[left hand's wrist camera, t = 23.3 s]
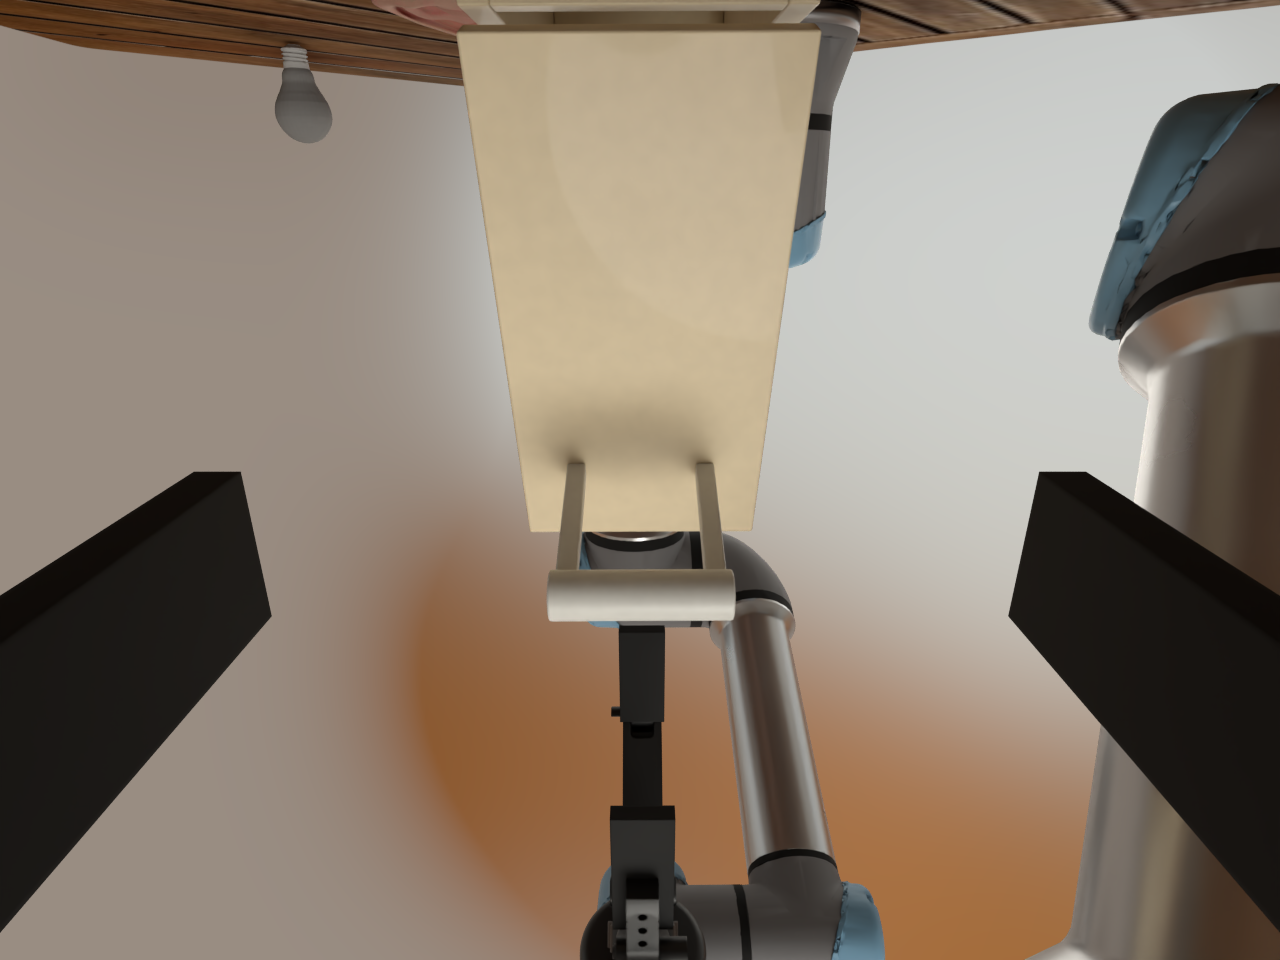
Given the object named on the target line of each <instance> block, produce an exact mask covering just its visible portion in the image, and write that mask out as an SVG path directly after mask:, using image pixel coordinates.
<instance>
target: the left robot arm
mask: <svg viewBox="0 0 1280 960" xmlns="http://www.w3.org/2000/svg"><path fill="white" fill-rule="evenodd" d="M1089 328H1090V329H1091V331H1092V332H1094V333H1096V334H1098V335H1103V336H1105V337H1106V338H1108V339H1110V340H1119V339H1120V345H1119V351H1118V362H1119V369H1120V372H1121V374H1122V376H1123V378H1124V379H1125V381H1126V382H1127V383H1128V384H1129V385H1130V386H1131V387H1132V388H1133V389H1134V390H1135V391H1136V392H1138V393H1139V394H1140V395H1142V396H1143V397H1144V398H1146V399H1147V400H1148V401H1149V402H1148V409H1147V416H1146V423H1145V429H1144V436H1143V443H1142V450H1141V457H1140V463H1139V470H1138V477H1137V484H1136V490H1135V497H1134V502H1132V501H1131V500H1129V499H1128V498H1126V497H1125V496H1123V495H1121V494H1120V493H1118V492H1117V491H1115V490H1114V489H1112V488H1111V487H1109V486H1107V485H1106V484H1104V483H1103V482H1101V481H1100V480H1098V479H1097V478H1095V477H1093V476H1092V475H1090V474H1089V473H1087V472H1039V476H1038V480H1037V485H1036V490H1035V494H1034V499H1033V504H1032V509H1031V513H1030V518H1029V522H1028V527H1027V531H1026V536H1025V541H1024V545H1023V550H1022V555H1021V559H1020V564H1019V569H1018V574H1017V578H1016V583H1015V587H1014V592H1013V597H1012V601H1011V606H1010V611H1009V615H1008V616H1009V618H1010V619H1011V620H1012V621H1013V622H1014V623H1015V625H1016V626H1017V627H1018V628H1019V629H1020V630H1021V632H1022V633H1023V634H1024V635H1025V636H1026V637H1027V639H1028V640H1029V641H1030V642H1031V643H1032V644H1033V646H1034V647H1035V648H1036V649H1037V650H1038V651H1039V652H1040V654H1041V655H1042V656H1043V657H1044V658H1045V659H1046V661H1047V662H1048V663H1049V664H1050V665H1051V666H1052V668H1053V669H1054V670H1055V671H1056V672H1057V673H1058V675H1059V676H1060V677H1061V678H1062V679H1063V680H1064V682H1065V683H1066V684H1067V685H1068V686H1069V687H1070V689H1071V690H1072V691H1073V692H1074V693H1075V694H1076V696H1077V697H1078V698H1079V699H1080V700H1081V701H1082V703H1083V704H1084V705H1085V706H1086V707H1087V708H1088V710H1089V711H1090V712H1091V713H1092V714H1093V715H1094V717H1095V718H1096V719H1097V720H1098V721H1099V722H1100V724H1101V728H1100V735H1099V741H1098V748H1097V755H1096V762H1095V768H1094V775H1093V782H1092V789H1091V796H1090V803H1089V809H1088V816H1087V823H1086V829H1085V836H1084V843H1083V850H1082V857H1081V864H1080V870H1079V877H1078V884H1077V891H1076V897H1075V904H1074V911H1073V918H1072V924H1071V928H1070V930H1069V932H1068V934H1067V936H1066V937H1065V938H1064V939H1063V940H1062V941H1061V942H1060V943H1058V944H1056V945H1054V946H1052V947H1050V948H1048V949H1046V950H1044V951H1042V952H1040V953H1038V954H1036V955H1033V956H1031V957H1029V958H1027V959H1025V960H1280V84H1277V83H1276V84H1267V85H1264V86H1261V87H1260V88H1258V89H1249V90H1239V91H1230V92H1220V93H1211V94H1202V95H1197V96H1193V97H1190V98H1188V99H1186V100H1184V101H1182V102H1180V103H1178V104H1176V105H1175V106H1173V107H1172V108H1170V109H1169V110H1168V111H1167V112H1166V113H1165V114H1164V115H1163V116H1162V118H1161V119H1160V120H1159V122H1158V123H1157V125H1156V126H1155V128H1154V130H1153V132H1152V135H1151V137H1150V139H1149V142H1148V144H1147V147H1146V149H1145V152H1144V154H1143V157H1142V160H1141V162H1140V165H1139V168H1138V170H1137V173H1136V176H1135V179H1134V182H1133V185H1132V187H1131V190H1130V193H1129V196H1128V199H1127V202H1126V205H1125V208H1124V211H1123V214H1122V217H1121V221H1120V226H1119V229H1118V231H1117V233H1116V236H1115V239H1114V242H1113V245H1112V248H1111V250H1110V252H1109V255H1108V258H1107V261H1106V264H1105V267H1104V270H1103V273H1102V277H1101V280H1100V283H1099V286H1098V290H1097V293H1096V296H1095V300H1094V303H1093V306H1092V310H1091V314H1090V318H1089ZM271 616H272V615H271V611H270V606H269V601H268V597H267V592H266V588H265V583H264V578H263V573H262V569H261V564H260V559H259V555H258V550H257V545H256V541H255V536H254V532H253V527H252V522H251V518H250V513H249V508H248V504H247V499H246V494H245V490H244V485H243V480H242V476H241V472H193V473H191V474H190V475H188V476H187V477H185V478H184V479H182V480H180V481H179V482H177V483H176V484H174V485H173V486H171V487H169V488H168V489H166V490H165V491H163V492H162V493H160V494H158V495H157V496H155V497H154V498H152V499H151V500H149V501H147V502H146V503H144V504H143V505H141V506H140V507H138V508H137V509H135V510H133V511H132V512H130V513H129V514H127V515H126V516H124V517H122V518H121V519H119V520H118V521H116V522H115V523H113V524H111V525H110V526H108V527H107V528H105V529H104V530H102V531H101V532H99V533H97V534H96V535H94V536H93V537H91V538H90V539H88V540H86V541H85V542H83V543H82V544H80V545H79V546H77V547H76V548H74V549H72V550H71V551H69V552H68V553H66V554H65V555H63V556H61V557H60V558H58V559H57V560H55V561H54V562H52V563H50V564H49V565H47V566H46V567H44V568H43V569H41V570H39V571H38V572H36V573H35V574H33V575H32V576H30V577H29V578H27V579H25V580H24V581H22V582H21V583H19V584H18V585H16V586H14V587H13V588H11V589H10V590H8V591H7V592H5V593H3V594H2V595H0V932H1V931H2V930H3V929H4V928H5V926H6V925H7V924H8V923H9V922H10V921H11V919H12V918H13V917H14V916H15V915H16V914H17V912H18V911H19V910H20V909H21V908H22V907H23V905H24V904H25V903H26V902H27V901H28V900H29V898H30V897H31V896H32V895H33V894H34V893H35V891H36V890H37V889H38V888H39V887H40V886H41V884H42V883H43V882H44V881H45V880H46V879H47V877H48V876H49V875H50V874H51V873H52V872H53V870H54V869H55V868H56V867H57V866H58V865H59V863H60V862H61V861H62V860H63V859H64V858H65V856H66V855H67V854H68V853H69V852H70V851H71V849H72V848H73V847H74V846H75V845H76V844H77V842H78V841H79V840H80V839H81V838H82V837H83V835H84V834H85V833H86V832H87V831H88V830H89V828H90V827H91V826H92V825H93V824H94V823H95V821H96V820H97V819H98V818H99V817H100V816H101V815H102V813H103V812H104V811H105V810H106V809H107V807H108V806H109V805H110V804H111V803H112V802H113V800H114V799H115V798H116V797H117V796H118V795H119V793H120V792H121V791H122V790H123V789H124V788H125V787H126V785H127V784H128V783H129V782H130V781H131V780H132V778H133V777H134V776H135V775H136V774H137V773H138V771H139V770H140V769H141V768H142V767H143V766H144V764H145V763H146V762H147V761H148V760H149V759H150V757H151V756H152V755H153V754H154V753H155V752H156V750H157V749H158V748H159V747H160V746H161V744H162V743H163V742H164V741H165V740H166V739H167V738H168V736H169V735H170V734H171V733H172V732H173V731H174V729H175V728H176V727H177V726H178V725H179V723H180V722H181V721H182V720H183V719H184V718H185V717H186V715H187V714H188V713H189V712H190V711H191V709H192V708H193V707H194V706H195V705H196V704H197V703H198V701H199V700H200V699H201V698H202V697H203V696H204V694H205V693H206V692H207V691H208V690H209V689H210V687H211V686H212V685H213V684H214V683H215V682H216V680H217V679H218V678H219V677H220V676H221V675H222V673H223V672H224V671H225V670H226V669H227V668H228V666H229V665H230V664H231V663H232V662H233V661H234V659H235V658H236V657H237V656H238V655H239V654H240V652H241V651H242V650H243V649H244V648H245V647H246V646H247V644H248V643H249V642H250V641H251V640H252V639H253V637H254V636H255V635H256V634H257V633H258V632H259V630H260V629H261V628H262V627H263V626H264V625H265V623H266V622H267V621H268V620H269V619H270V617H271Z"/></svg>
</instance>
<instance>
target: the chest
mask: <svg viewBox="0 0 1280 960" xmlns="http://www.w3.org/2000/svg"><path fill="white" fill-rule="evenodd" d="M820 1H821V0H457V5H458V6H459V7H460V8H461V9H462V10H463V11H464V12H465V13H466V14H467V15H468V16H469V17H470V18H471V19H472V20H473V21H475V22H476V23H477V24H478V25H519V24H729V23H800V22H801V21H802V20H803V19H804V18H805V17H806V16H807V15H808V14H809V13H810V12H811V11H812V10H813V9H814V8H815V7H816V6H818V5H819V4H820Z"/></svg>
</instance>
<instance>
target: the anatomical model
mask: <svg viewBox="0 0 1280 960" xmlns="http://www.w3.org/2000/svg"><path fill="white" fill-rule="evenodd" d="M372 3H373V4H374V5H376V6H377V7H379V8H382V9H384V10H386V11H389V12H391V13H394V14H396V15H398V16H401V17H403V18H405V19H408V20H410V21H413V22H415V23H418V24H420V25H423V26H427V27H430V28H433V29H436V30H439V31H442V32H446V33H449V34H452V35H455V36H457V35H456V34H457V31H458V30H459V29H460V27H461V26H463V25H478V24H477V23H476V22H475V21H473V20H472V19H471V18H470V17H469V16H468V15H467V14H466V13H465V12H464V11H463V10H462V9H461V8H460V7H459V6H458V5H457V0H372Z"/></svg>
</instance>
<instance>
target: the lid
mask: <svg viewBox="0 0 1280 960" xmlns="http://www.w3.org/2000/svg"><path fill="white" fill-rule="evenodd" d="M456 35H457V42H458V48H459V55H460V62H461V69H462V75H463V82H464V89H465V95H466V102H467V109H468V116H469V123H470V129H471V136H472V143H473V149H474V156H475V163H476V170H477V177H478V183H479V190H480V197H481V203H482V210H483V217H484V223H485V230H486V237H487V244H488V251H489V257H490V264H491V271H492V278H493V284H494V291H495V298H496V305H497V311H498V318H499V325H500V332H501V338H502V345H503V352H504V359H505V365H506V372H507V379H508V385H509V392H510V398H511V406H512V413H513V419H514V426H515V433H516V440H517V446H518V453H519V460H520V467H521V473H522V480H523V487H524V494H525V500H526V507H527V514H528V521H529V527H530V531H531V532H560V537H559V546H558V554H557V564H556V570H551V571H550V572H549V575H548V582H547V613H548V618H549V620H550V621H731V620H733V619H734V616H735V607H736V591H735V579H734V574H733V571H732V570H731V569H726V562H725V554H724V545H723V537H722V531H751V530H752V526H753V519H754V512H755V504H756V497H757V490H758V483H759V476H760V469H761V462H762V454H763V447H764V440H765V433H766V426H767V418H768V411H769V404H770V397H771V390H772V383H773V376H774V368H775V361H776V354H777V347H778V340H779V333H780V326H781V318H782V311H783V304H784V297H785V290H786V283H787V275H788V268H789V261H790V254H791V247H792V240H793V233H794V225H795V218H796V211H797V204H798V197H799V190H800V182H801V175H802V168H803V161H804V154H805V147H806V140H807V132H808V125H809V118H810V111H811V104H812V97H813V89H814V82H815V75H816V68H817V61H818V54H819V46H820V39H821V29H820V28H819V27H818V26H817V25H816V24H815V23H729V24H519V25H463V26H461V27H460V29H459V30H458V31H457V34H456ZM645 531H700V538H701V549H702V561H703V569H628V570H579V564H580V551H581V538H582V532H645Z"/></svg>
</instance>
